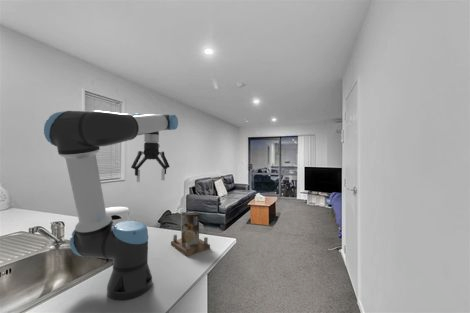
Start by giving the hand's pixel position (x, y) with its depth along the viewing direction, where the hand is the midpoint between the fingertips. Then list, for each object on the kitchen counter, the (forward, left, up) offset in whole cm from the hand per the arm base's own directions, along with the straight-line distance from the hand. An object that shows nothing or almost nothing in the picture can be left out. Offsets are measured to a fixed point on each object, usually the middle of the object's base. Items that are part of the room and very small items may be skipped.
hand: (151, 181), depth 121 cm
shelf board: (+15, -18, -35) cm, 42 cm away
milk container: (-15, +15, -35) cm, 41 cm away
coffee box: (+15, -17, -33) cm, 40 cm away
